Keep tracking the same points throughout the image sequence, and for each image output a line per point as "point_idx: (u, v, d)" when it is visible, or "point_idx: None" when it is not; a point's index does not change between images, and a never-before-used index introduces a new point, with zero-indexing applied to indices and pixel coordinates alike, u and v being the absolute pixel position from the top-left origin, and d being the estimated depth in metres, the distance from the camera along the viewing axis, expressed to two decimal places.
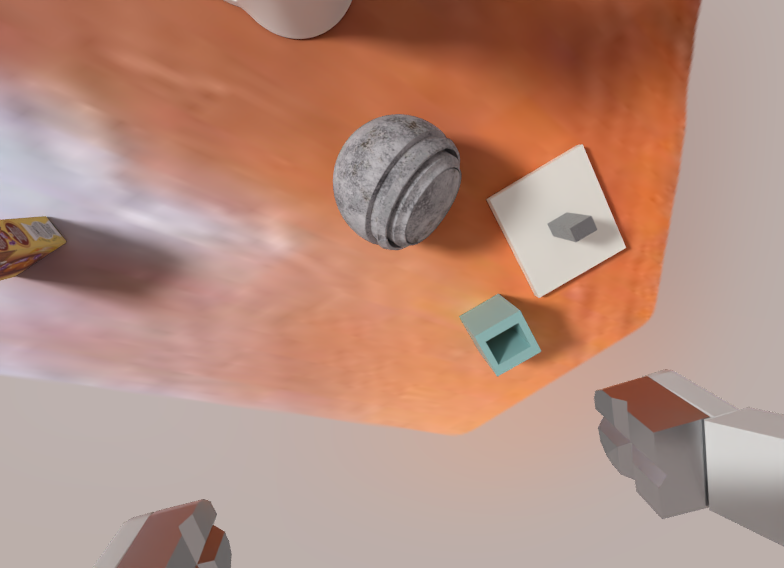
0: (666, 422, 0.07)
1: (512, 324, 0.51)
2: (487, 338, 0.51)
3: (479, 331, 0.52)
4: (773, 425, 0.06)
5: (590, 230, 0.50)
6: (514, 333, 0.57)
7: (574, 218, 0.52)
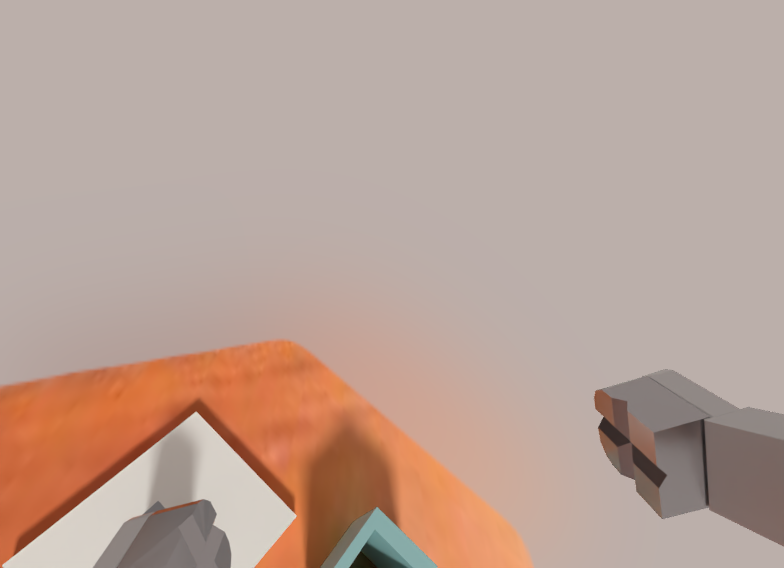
0: (666, 422, 0.07)
1: None
2: None
3: None
4: (772, 424, 0.06)
5: None
6: None
7: None
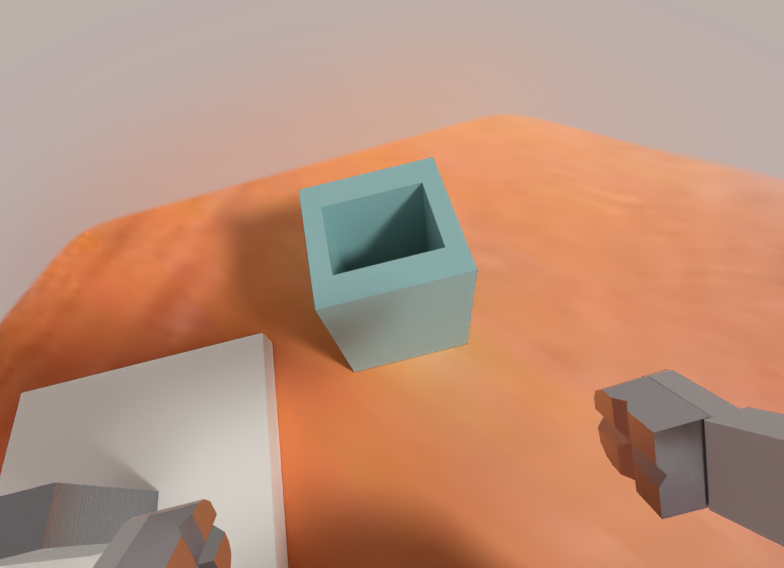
0: (666, 422, 0.07)
1: (351, 275, 0.17)
2: (437, 255, 0.17)
3: (455, 280, 0.16)
4: (772, 425, 0.06)
5: None
6: (348, 264, 0.23)
7: (41, 557, 0.15)
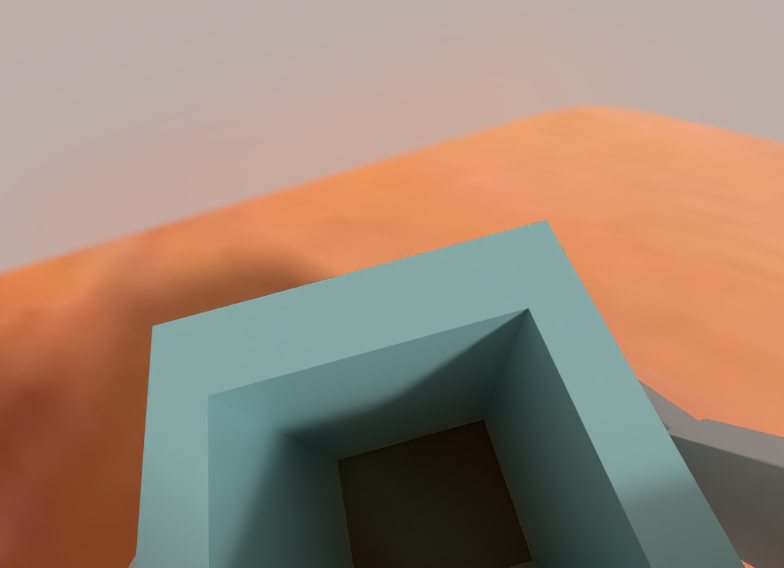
0: None
1: None
2: None
3: None
4: (728, 437, 0.06)
5: None
6: (319, 443, 0.10)
7: None
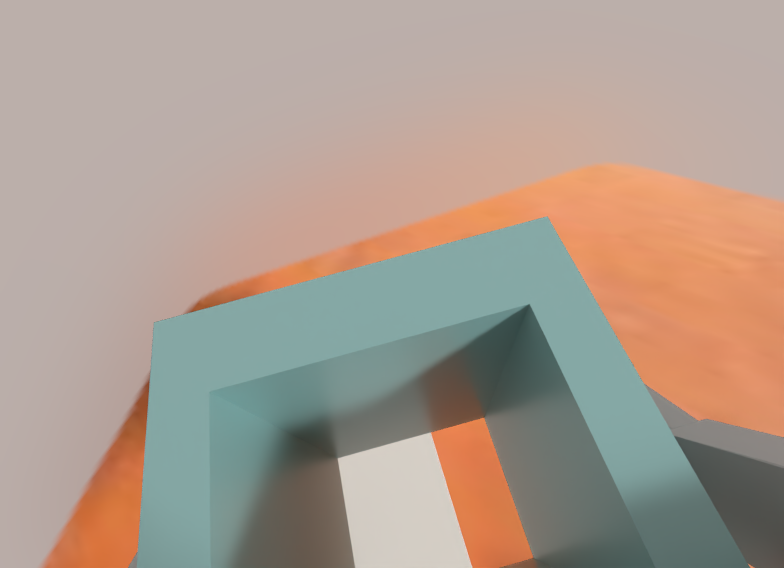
0: None
1: None
2: None
3: None
4: (726, 437, 0.06)
5: None
6: (320, 441, 0.10)
7: None
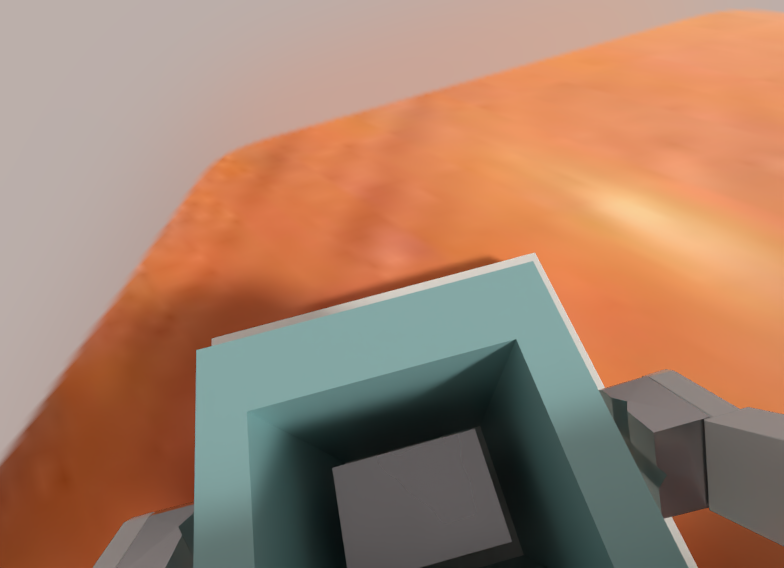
0: (666, 422, 0.07)
1: None
2: None
3: None
4: (772, 425, 0.06)
5: (375, 478, 0.08)
6: (331, 448, 0.11)
7: None
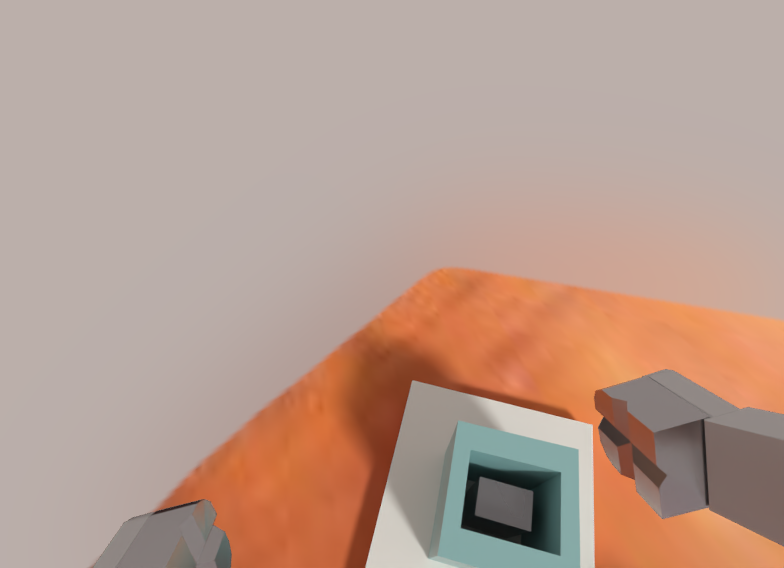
0: (666, 422, 0.07)
1: (475, 537, 0.20)
2: (550, 561, 0.19)
3: None
4: (772, 425, 0.06)
5: (493, 487, 0.23)
6: None
7: (486, 524, 0.24)
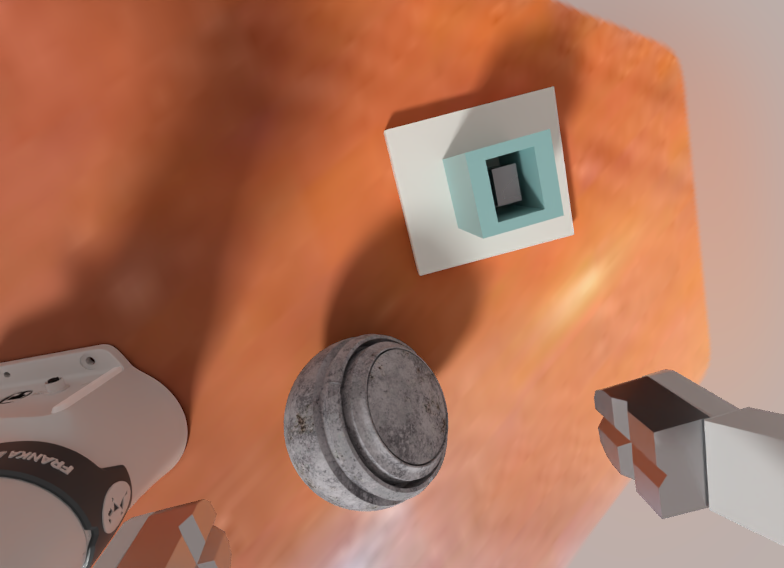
0: (666, 422, 0.07)
1: (484, 171, 0.30)
2: (493, 218, 0.31)
3: (479, 227, 0.32)
4: (773, 425, 0.06)
5: (512, 174, 0.32)
6: (509, 154, 0.35)
7: None
